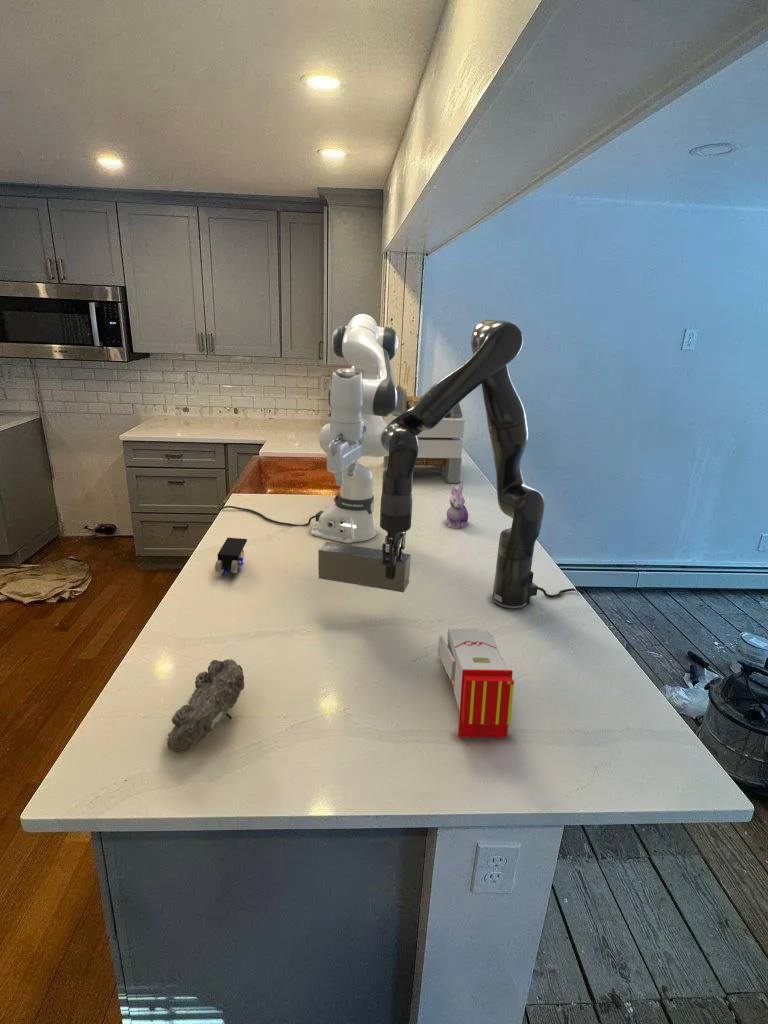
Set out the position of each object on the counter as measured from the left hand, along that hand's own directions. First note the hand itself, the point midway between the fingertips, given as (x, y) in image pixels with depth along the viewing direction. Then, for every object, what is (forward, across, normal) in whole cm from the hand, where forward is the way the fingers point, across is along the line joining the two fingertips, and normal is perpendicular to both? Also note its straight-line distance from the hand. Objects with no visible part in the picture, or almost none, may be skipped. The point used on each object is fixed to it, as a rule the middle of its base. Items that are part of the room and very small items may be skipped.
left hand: (345, 480), depth 157 cm
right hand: (+16, -19, -20) cm, 32 cm away
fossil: (+29, -66, +3) cm, 72 cm away
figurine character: (+29, -8, +32) cm, 44 cm away
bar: (+20, -19, -12) cm, 30 cm away
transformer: (+30, +118, +4) cm, 122 cm away
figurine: (+30, +56, -25) cm, 68 cm away
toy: (+29, -42, -43) cm, 67 cm away
